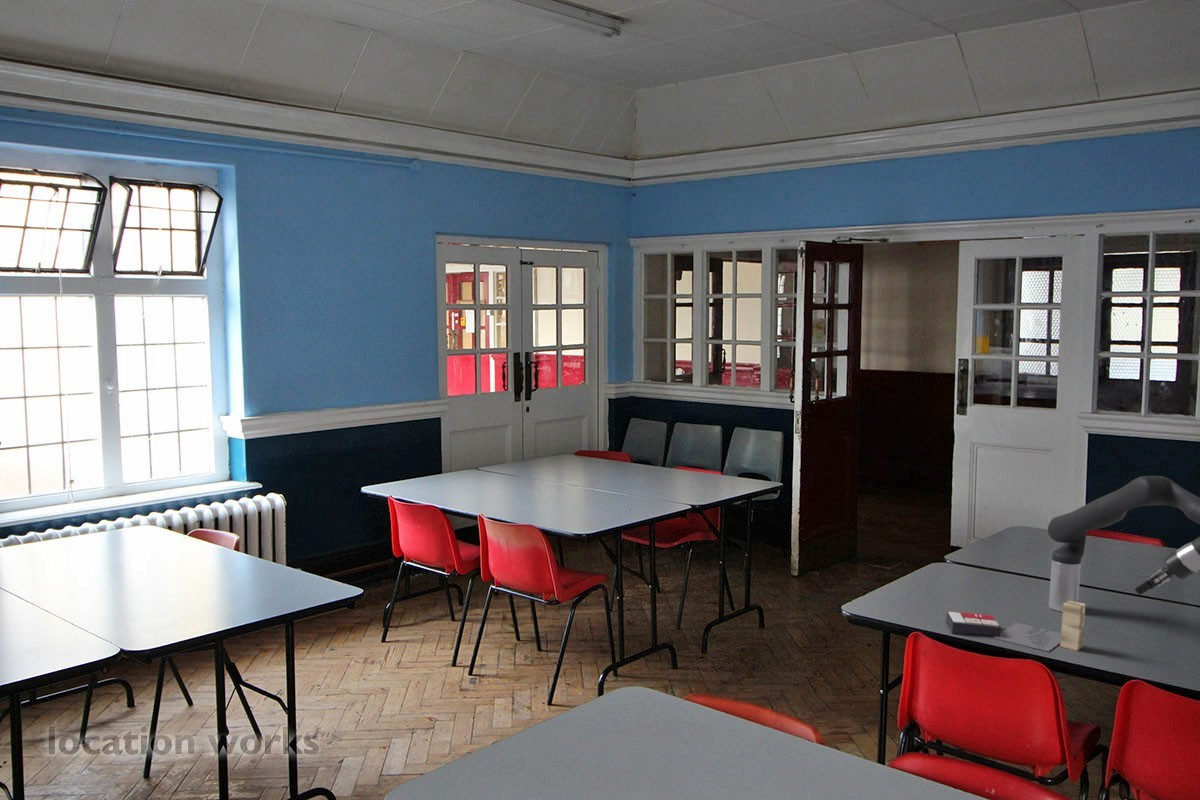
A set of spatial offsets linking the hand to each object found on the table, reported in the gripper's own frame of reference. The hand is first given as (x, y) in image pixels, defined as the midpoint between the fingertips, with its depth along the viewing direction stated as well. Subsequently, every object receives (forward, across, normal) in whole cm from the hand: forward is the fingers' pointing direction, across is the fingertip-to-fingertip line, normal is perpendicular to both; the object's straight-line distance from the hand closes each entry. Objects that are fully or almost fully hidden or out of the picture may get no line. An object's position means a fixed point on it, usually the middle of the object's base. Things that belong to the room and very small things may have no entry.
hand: (1137, 591), depth 292 cm
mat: (+36, 0, -5) cm, 37 cm away
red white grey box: (+48, +7, -17) cm, 51 cm away
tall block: (+28, 0, +3) cm, 28 cm away
